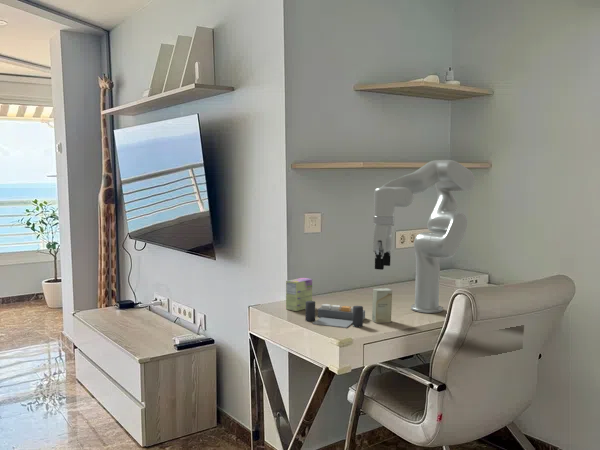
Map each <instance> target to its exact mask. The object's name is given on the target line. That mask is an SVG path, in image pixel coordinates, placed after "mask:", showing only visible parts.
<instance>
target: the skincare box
mask: <svg viewBox="0 0 600 450" xmlns="http://www.w3.org/2000/svg"><path fill="white" fill-rule="evenodd" d="M392 301H393V290H392V289H391V288H387V287H386V288H385V287H384V288H381V287H380V288H372V310H371V320H372V322H374V323H376V324H380V323H392V308H393V307H392V305H393V302H392Z"/></svg>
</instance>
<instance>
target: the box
mask: <svg viewBox="0 0 600 450" xmlns="http://www.w3.org/2000/svg"><path fill="white" fill-rule="evenodd" d="M306 301H313V279H312V278H308V277H299V278H295V279H290V280H289V279H288V280H285V309H286V310H288V311H293V312H298V311H301V310H306Z"/></svg>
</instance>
